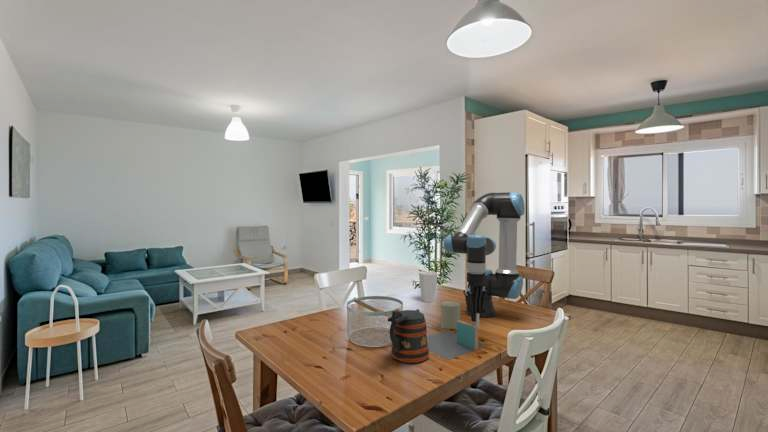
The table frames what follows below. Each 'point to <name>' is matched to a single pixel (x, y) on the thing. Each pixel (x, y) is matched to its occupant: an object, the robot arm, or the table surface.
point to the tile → (467, 334)
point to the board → (447, 345)
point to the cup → (428, 285)
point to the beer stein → (408, 336)
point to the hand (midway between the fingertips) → (475, 328)
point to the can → (450, 314)
